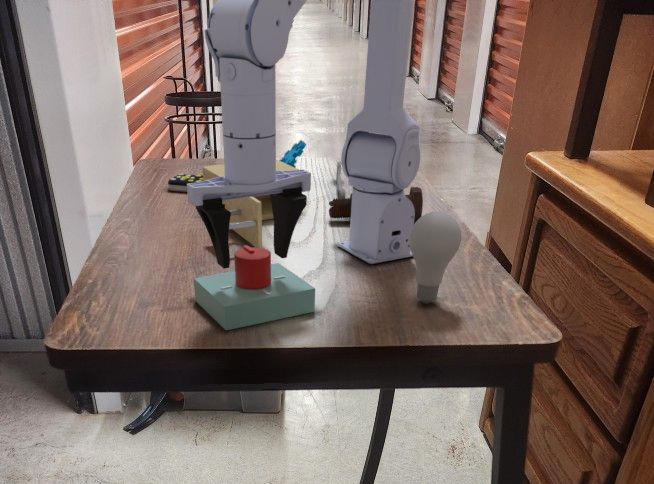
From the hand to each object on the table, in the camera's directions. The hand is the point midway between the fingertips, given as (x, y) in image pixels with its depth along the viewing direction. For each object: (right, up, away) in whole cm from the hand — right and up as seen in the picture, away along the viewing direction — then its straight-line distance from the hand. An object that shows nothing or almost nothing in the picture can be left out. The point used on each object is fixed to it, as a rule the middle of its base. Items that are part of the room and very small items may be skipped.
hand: (252, 260), depth 80 cm
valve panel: (0, -4, +4) cm, 6 cm away
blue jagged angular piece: (+5, +33, +50) cm, 60 cm away
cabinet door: (-5, +12, +23) cm, 26 cm away
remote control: (-11, +31, +47) cm, 57 cm away
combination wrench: (+15, +29, +45) cm, 56 cm away
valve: (0, -2, +2) cm, 3 cm away
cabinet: (-2, +21, +35) cm, 41 cm away
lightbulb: (+22, -4, +4) cm, 23 cm away
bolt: (+19, +18, +31) cm, 41 cm away
